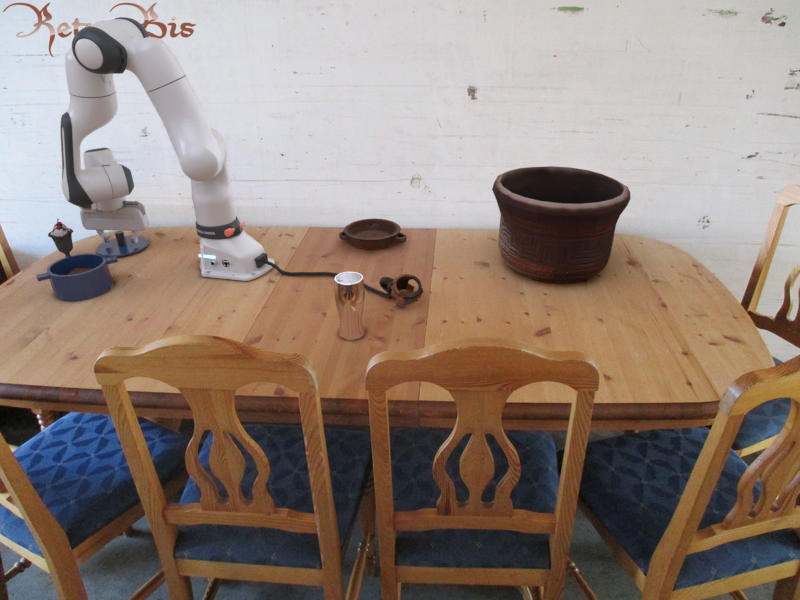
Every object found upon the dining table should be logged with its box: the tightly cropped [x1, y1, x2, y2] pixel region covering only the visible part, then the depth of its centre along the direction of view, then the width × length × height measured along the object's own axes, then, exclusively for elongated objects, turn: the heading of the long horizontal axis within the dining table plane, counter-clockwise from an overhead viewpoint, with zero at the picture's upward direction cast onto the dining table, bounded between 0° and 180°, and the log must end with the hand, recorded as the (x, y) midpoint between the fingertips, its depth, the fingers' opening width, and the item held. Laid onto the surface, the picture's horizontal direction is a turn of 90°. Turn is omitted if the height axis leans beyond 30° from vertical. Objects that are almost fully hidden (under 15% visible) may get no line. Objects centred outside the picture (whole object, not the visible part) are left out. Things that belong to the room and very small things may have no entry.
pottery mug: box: [378, 273, 424, 309], centre depth 151 cm, size 12×10×8 cm
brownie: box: [67, 268, 94, 275], centre depth 159 cm, size 6×6×4 cm
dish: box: [338, 217, 407, 250], centre depth 185 cm, size 18×22×5 cm
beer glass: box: [333, 271, 366, 341], centre depth 134 cm, size 7×7×15 cm
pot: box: [35, 252, 119, 302], centre depth 158 cm, size 15×20×8 cm
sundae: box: [47, 218, 74, 257], centre depth 171 cm, size 7×7×15 cm
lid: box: [95, 230, 150, 258], centre depth 183 cm, size 16×16×6 cm
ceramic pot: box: [491, 165, 631, 283], centre depth 163 cm, size 37×37×25 cm
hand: (121, 242), depth 183 cm, fingers open, 8 cm apart
